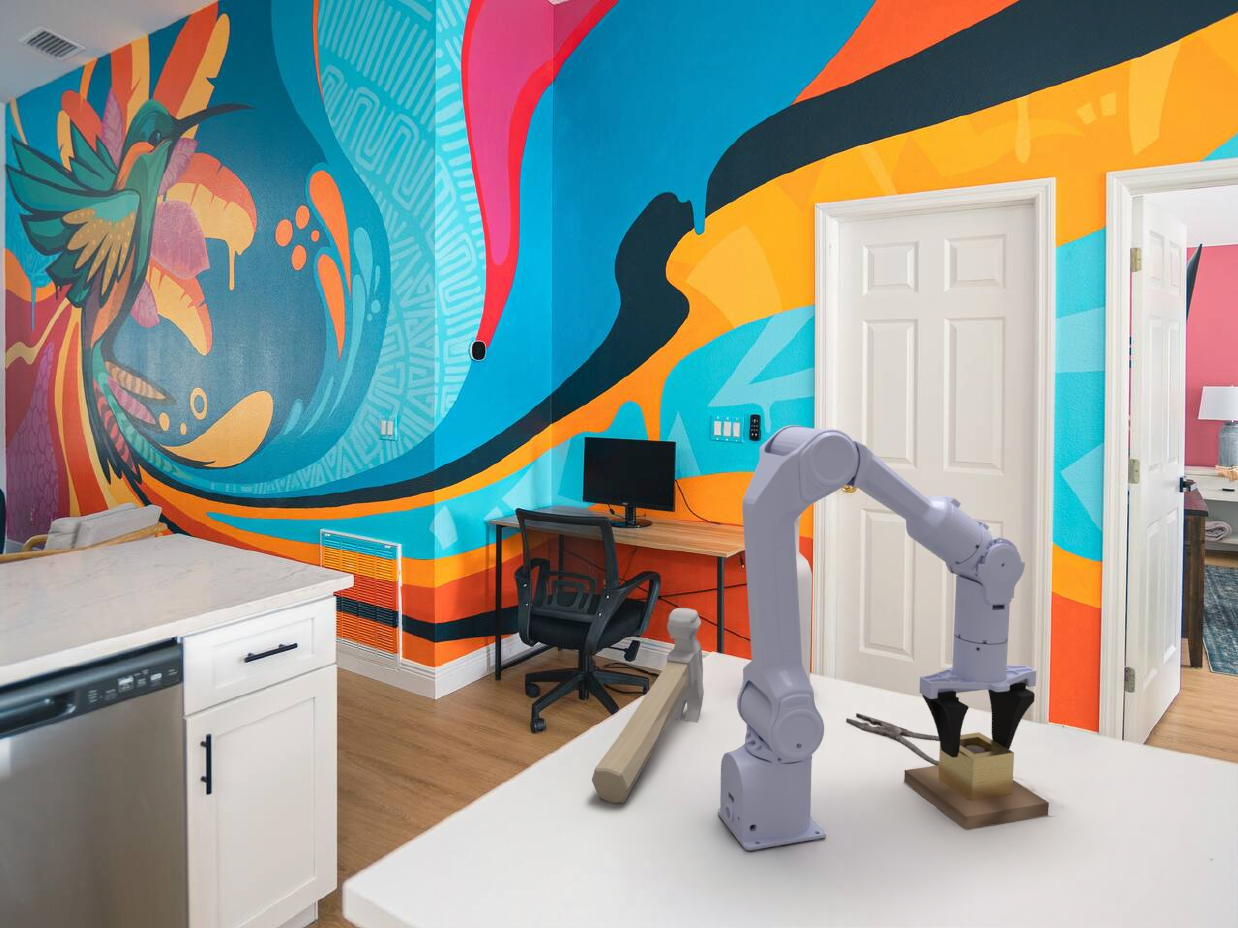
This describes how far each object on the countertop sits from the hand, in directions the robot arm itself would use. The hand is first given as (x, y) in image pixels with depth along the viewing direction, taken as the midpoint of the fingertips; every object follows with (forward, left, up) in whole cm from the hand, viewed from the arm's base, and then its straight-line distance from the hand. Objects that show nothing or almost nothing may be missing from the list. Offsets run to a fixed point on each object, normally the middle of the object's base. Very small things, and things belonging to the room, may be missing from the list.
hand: (975, 749), depth 93 cm
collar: (0, 0, -4) cm, 4 cm away
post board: (0, 0, -6) cm, 6 cm away
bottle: (-7, +34, -6) cm, 35 cm away
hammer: (-32, +21, -6) cm, 39 cm away
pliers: (+2, +14, -6) cm, 16 cm away
